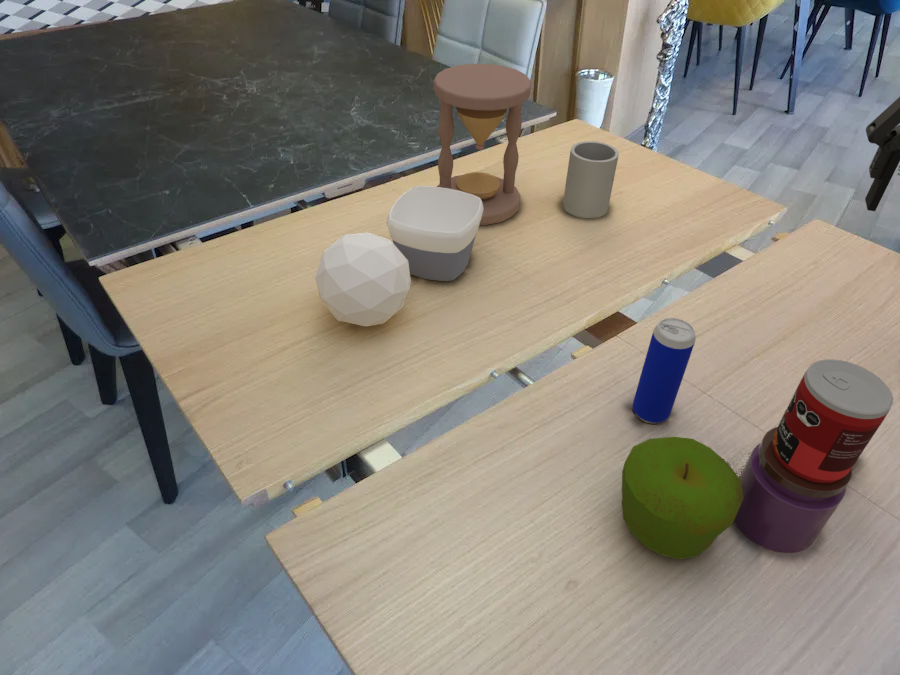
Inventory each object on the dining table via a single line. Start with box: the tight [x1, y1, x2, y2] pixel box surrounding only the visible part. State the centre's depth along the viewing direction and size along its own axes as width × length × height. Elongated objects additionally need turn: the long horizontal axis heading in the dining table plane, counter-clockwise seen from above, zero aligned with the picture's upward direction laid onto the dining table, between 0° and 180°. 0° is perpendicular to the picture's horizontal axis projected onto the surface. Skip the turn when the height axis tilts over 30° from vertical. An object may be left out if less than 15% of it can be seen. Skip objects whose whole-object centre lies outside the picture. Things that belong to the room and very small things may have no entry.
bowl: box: [386, 185, 484, 282], centre depth 116 cm, size 15×15×11 cm
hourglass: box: [433, 63, 532, 226], centre depth 128 cm, size 18×18×25 cm
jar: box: [733, 426, 853, 554], centre depth 76 cm, size 10×10×11 cm
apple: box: [621, 436, 743, 560], centre depth 75 cm, size 12×12×11 cm
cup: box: [562, 140, 620, 219], centre depth 132 cm, size 9×9×12 cm
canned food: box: [773, 358, 894, 483], centre depth 69 cm, size 8×8×11 cm
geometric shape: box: [314, 232, 412, 327], centre depth 103 cm, size 14×15×15 cm
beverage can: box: [632, 317, 696, 425], centre depth 88 cm, size 5×5×15 cm
